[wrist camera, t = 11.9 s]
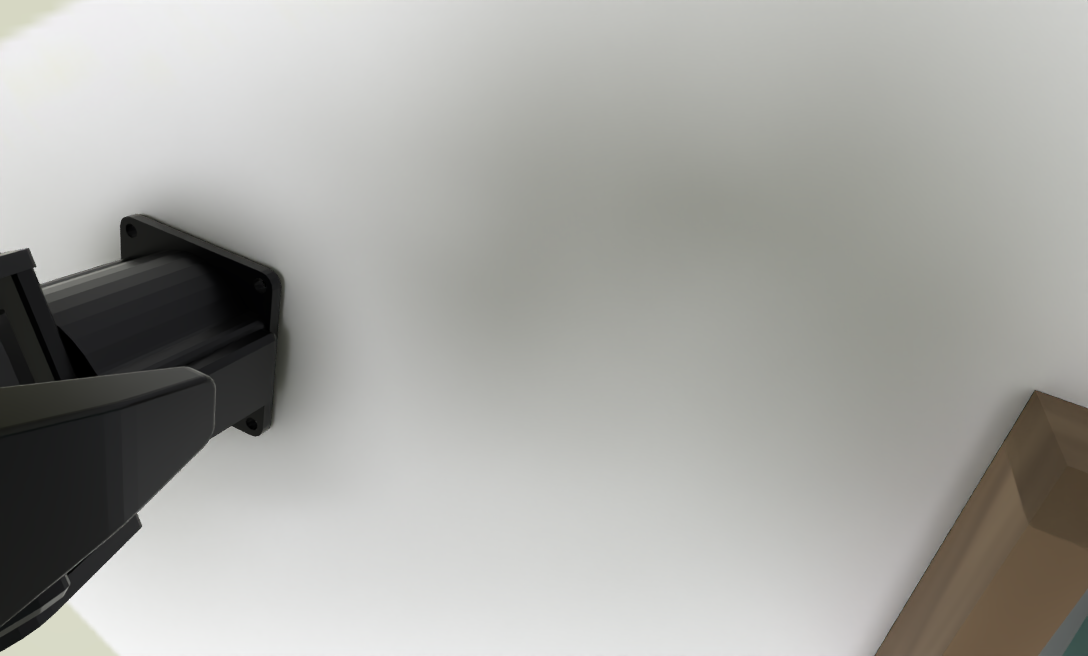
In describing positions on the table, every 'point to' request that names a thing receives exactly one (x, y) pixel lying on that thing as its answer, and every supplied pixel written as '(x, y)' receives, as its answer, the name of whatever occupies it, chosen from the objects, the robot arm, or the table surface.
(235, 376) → the robot arm
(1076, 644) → the teal block
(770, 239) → the table surface
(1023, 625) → the walnut corner walls
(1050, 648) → the grey mat
